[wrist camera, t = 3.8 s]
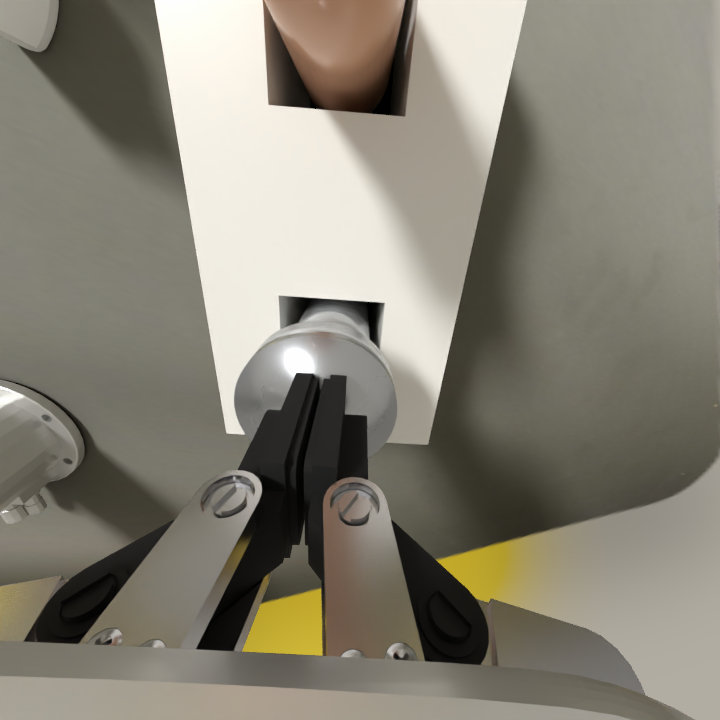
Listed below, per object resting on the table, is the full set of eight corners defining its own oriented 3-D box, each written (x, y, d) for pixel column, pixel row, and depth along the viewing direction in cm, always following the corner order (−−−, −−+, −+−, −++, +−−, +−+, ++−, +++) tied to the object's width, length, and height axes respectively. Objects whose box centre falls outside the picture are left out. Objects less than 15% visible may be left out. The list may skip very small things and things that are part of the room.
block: (406, 366, 27) (427, 444, 18) (271, 358, 27) (226, 433, 18) (467, -25, 16) (596, -310, 7) (243, -47, 16) (92, -373, 7)
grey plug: (374, 337, 24) (387, 474, 12) (304, 332, 24) (242, 467, 12) (381, 265, 22) (408, 343, 9) (303, 260, 22) (223, 331, 9)
